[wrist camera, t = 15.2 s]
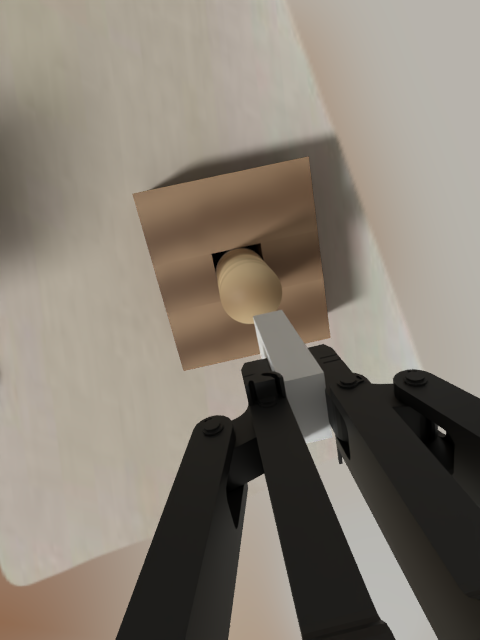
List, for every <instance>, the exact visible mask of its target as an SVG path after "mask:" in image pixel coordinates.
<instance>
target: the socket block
mask: <svg viewBox="0 0 480 640" xmlns="http://www.w3.org/2000/svg"><path fill="white" fill-rule="evenodd" d="M133 197H134V201H135V204H136V208H137V211H138V215H139V218H140V222H141V225H142V229H143V232H144V236H145V239H146V242H147V246H148V249H149V253H150V256H151V260H152V263H153V267H154V270H155V274H156V277H157V280H158V284H159V287H160V291H161V294H162V298H163V301H164V305H165V308H166V312H167V315H168V319H169V322H170V325H171V329H172V332H173V336H174V339H175V343H176V346H177V350H178V353H179V357H180V360H181V363H182V367H183V370H184V371H186V370H190V369H195V368H199V367H203V366H208V365H212V364H217V363H221V362H226V361H230V360H234V359H239V358H243V357H248V356H252V355H256V354H260V350H259V344H258V339H257V334H256V329H255V324H245V323H241V322H238V321H236V320H234V319H233V318H231V317H230V316H229V315H228V314H227V313H226V311H225V310H224V308H223V306H222V303H221V299H220V293H219V288H218V283H217V280H216V269H215V265H214V260H213V256H212V253H217V252H222V251H226V250H231V249H235V248H240V247H245V246H249V245H254V248H255V252H256V253H257V254H258V255H259V256H260V257H261V258H262V260H263V261H264V262H265V263H266V264H267V265H268V266H269V267H270V268H271V269H272V271H273V272H274V273H275V274H276V275H277V277H278V278H279V280H280V283H281V286H282V299H281V303H280V305H279V307H278V309H277V310H276V311H278V310H282V311H283V312H284V314H285V315H286V317H287V318H288V320H289V321H290V323H291V324H292V326H293V327H294V329H295V330H296V332H297V333H298V335H299V336H300V338H301V339H302V341H303V342H304V344H305V343H310V342H314V341H318V340H323V339H327V338H330V330H329V322H328V313H327V305H326V297H325V288H324V280H323V272H322V263H321V255H320V247H319V238H318V230H317V222H316V213H315V205H314V197H313V188H312V180H311V172H310V163H309V156H308V157H303V158H298V159H294V160H289V161H284V162H280V163H275V164H270V165H266V166H261V167H256V168H251V169H247V170H242V171H237V172H233V173H228V174H223V175H219V176H214V177H209V178H204V179H200V180H195V181H190V182H186V183H181V184H176V185H171V186H167V187H162V188H157V189H153V190H148V191H143V192H139V193H134V194H133Z"/></svg>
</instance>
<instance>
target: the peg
mask: <svg viewBox="0 0 480 640" xmlns="http://www.w3.org/2000/svg"><path fill="white" fill-rule="evenodd" d="M216 280H217V283H218V288H219V293H220V299H221V303H222V306H223V308H224V310H225V311H226V313H227V314H228V315H229V316H230V317H231V318H233V319H234V320H236V321H238V322H241V323H245V324H254V319H253V316H256V315H260V314H265V313H269V312H274V311H276V310H277V309H278V307H279V305H280V303H281V299H282V286H281V283H280V280H279V278H278V277H277V275H276V274H275V273H274V272H273V271H272V269H271V268H270V267H269V266H268V265H267V264H266V263H265V262H264V261H263V260H262V258H261V257H260V256H259V255H258V254H257V253H256V252H255V251H253V250H251V249H248V248H235V249H231V250H226V251H224V253H223V254H222V256H221V258H220V260H219V261H218V264H217V267H216Z"/></svg>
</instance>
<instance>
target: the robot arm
mask: <svg viewBox="0 0 480 640" xmlns="http://www.w3.org/2000/svg"><path fill="white" fill-rule="evenodd" d="M253 319H254V324H255V329H256V334H257V339H258V344H259V350H260V355H261V359H260V360H256V361H252V362H247V363H244V365H243V367H242V369H241V371H242V376H243V380H244V385H245V389H246V394H247V398H248V408H247V410H246V411H245V413H243V414H242V415H241V416H240V417H238V418H236V419H234V420H232V421H231V420H230V419H229V418H228V417H225V416H219V415H216V416H211V417H208V418H206V419H204V420H202V421H200V422H199V423H198V424H197V425H196V426H195V428H194V430H193V432H192V435H191V437H190V440H189V443H188V446H187V448H186V451H185V454H184V456H183V459H182V462H181V464H180V467H179V470H178V473H177V475H176V478H175V481H174V483H173V486H172V489H171V491H170V494H169V497H168V499H167V502H166V505H165V508H164V510H163V513H162V516H161V518H160V521H159V524H158V526H157V529H156V532H155V535H154V537H153V540H152V543H151V545H150V548H149V551H148V553H147V556H146V559H145V562H144V564H143V567H142V570H141V572H140V575H139V578H138V580H137V583H136V586H135V589H134V591H133V594H132V597H131V599H130V602H129V605H128V608H127V610H126V613H125V615H124V618H123V621H122V624H121V626H120V629H119V632H118V634H117V637H116V640H228V636H229V628H230V620H231V613H232V605H233V597H234V590H235V583H236V575H237V567H238V560H239V552H240V544H241V537H242V529H243V522H244V514H245V506H246V499H247V492H248V484H247V482H249V481H251V480H253V479H255V478H257V477H258V476H260V475H262V474H265V478H266V482H267V487H268V491H269V495H270V500H271V504H272V509H273V513H274V517H275V522H276V526H277V531H278V535H279V539H280V544H281V548H282V552H283V557H284V561H285V566H286V570H287V574H288V578H289V583H290V587H291V592H292V596H293V601H294V605H295V609H296V614H297V618H298V622H299V627H300V631H301V635H302V640H395V638H394V636H393V633H392V631H391V630H390V628H389V627H388V625H387V623H385V622H384V621H382V620H381V619H380V617H379V616H378V614H377V611H376V609H375V607H374V605H373V602H372V600H371V598H370V595H369V593H368V590H367V588H366V586H365V583H364V581H363V578H362V576H361V574H360V571H359V569H358V566H357V564H356V562H355V559H354V557H353V554H352V552H351V550H350V547H349V545H348V543H347V540H346V538H345V535H344V533H343V531H342V528H341V526H340V523H339V521H338V519H337V516H336V514H335V511H334V509H333V507H332V504H331V502H330V500H329V497H328V495H327V492H326V490H325V488H324V485H323V483H322V480H321V478H320V476H319V473H318V471H317V468H316V466H315V464H314V461H313V459H312V457H311V454H310V452H309V449H308V447H307V445H306V444H307V443H311V442H315V441H319V440H324V439H328V438H332V432H331V427H332V429H333V431H334V432H335V436H336V444H337V452H338V460H339V464H342V457H343V459H344V461H345V463H346V465H347V466H348V468H349V470H350V472H351V474H352V476H353V478H354V479H355V482H356V484H357V485H358V487H359V489H360V491H361V493H362V495H363V497H364V499H365V501H366V503H367V504H368V506H369V508H370V510H371V512H372V514H373V516H374V518H375V520H376V522H377V524H378V526H379V527H380V529H381V531H382V533H383V535H384V537H385V539H386V541H387V542H388V544H389V546H390V548H391V550H392V552H393V554H394V556H395V558H396V560H397V562H398V564H399V565H400V567H401V569H402V571H403V573H404V575H405V577H406V579H407V581H408V583H409V585H410V586H411V588H412V590H413V592H414V594H415V596H416V598H417V600H418V602H419V604H420V605H421V607H422V609H423V611H424V613H425V615H426V617H427V619H428V621H429V622H430V625H431V627H432V628H433V630H434V632H435V634H436V636H437V638H438V640H480V398H478V397H476V396H474V395H472V394H470V393H468V392H466V391H464V390H462V389H460V388H458V387H456V386H454V385H453V384H450V383H449V382H447V381H445V380H443V379H441V378H439V377H437V376H435V375H433V374H431V373H428V372H426V371H422V370H416V369H412V370H405V371H401V372H399V373H397V374H396V375H395V376H394V378H393V384H371V383H370V381H369V380H368V379H367V378H366V377H364V376H363V375H360V374H357V373H352V372H351V370H350V369H349V368H348V367H347V365H346V364H345V363H344V362H343V361H342V360H341V358H340V357H339V356H338V355H337V353H336V352H335V351H334V350H333V348H331V347H328V346H326V345H324V344H322V345H318V346H314V347H309V348H307V347H306V345H305V344H304V342H303V341H302V339H301V338H300V336H299V335H298V333H297V332H296V330H295V329H294V327H293V326H292V324H291V323H290V321H289V320H288V318H287V317H286V315H285V314H284V312H283V311H282V310H278V311H274V312H269V313H265V314H260V315H256V316H253ZM438 426H440V427H441V428H443V429H444V430H445V431H446V435H445V434H443V433H441V432H440V431H439V430H438Z"/></svg>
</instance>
